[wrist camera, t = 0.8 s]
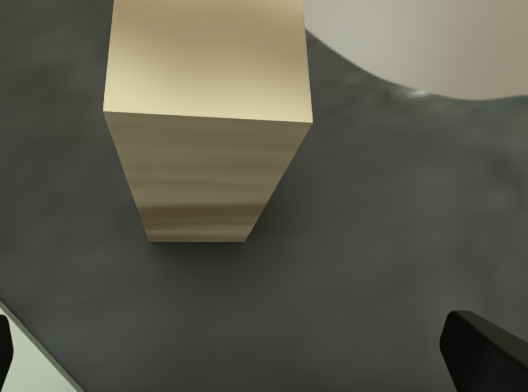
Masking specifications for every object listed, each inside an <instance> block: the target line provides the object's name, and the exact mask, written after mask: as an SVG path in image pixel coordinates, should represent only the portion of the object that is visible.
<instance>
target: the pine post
mask: <svg viewBox="0 0 528 392" xmlns="http://www.w3.org/2000/svg"><path fill="white" fill-rule="evenodd" d="M103 113H104V116H105V118H106V121H107V124H108V127H109V130H110V133H111V135H112V138H113V141H114V144H115V147H116V150H117V152H118V155H119V158H120V161H121V164H122V167H123V170H124V172H125V175H126V178H127V181H128V184H129V187H130V189H131V192H132V195H133V198H134V201H135V204H136V206H137V209H138V212H139V215H140V218H141V221H142V223H143V226H144V229H145V232H146V235H147V238H148V240H149V242H245V241H246V239H247V237H248V236H249V234H250V232H251V230H252V228H253V227H254V225H255V223H256V221H257V220H258V218H259V216H260V214H261V213H262V211H263V209H264V207H265V206H266V204H267V202H268V200H269V199H270V197H271V195H272V193H273V192H274V190H275V188H276V186H277V185H278V183H279V181H280V179H281V178H282V176H283V174H284V172H285V171H286V169H287V167H288V165H289V164H290V162H291V160H292V158H293V157H294V155H295V153H296V151H297V149H298V148H299V146H300V144H301V142H302V141H303V139H304V137H305V135H306V134H307V132H308V130H309V128H310V127H311V125H312V123H313V120H312V108H311V96H310V85H309V73H308V61H307V50H306V38H305V26H304V15H303V3H302V0H114V7H113V17H112V27H111V37H110V47H109V56H108V66H107V76H106V86H105V96H104V106H103Z"/></svg>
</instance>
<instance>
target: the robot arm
mask: <svg viewBox="0 0 528 392" xmlns="http://www.w3.org/2000/svg"><path fill="white" fill-rule="evenodd" d="M439 345H440V351H441V353H442V356H443V358H444V361H445V363H446V366H447V368H448V370H449V373H450V375H451V378H452V380H453V383H454V385H455V388H456V390H457V392H528V343H527V342H526V341H524V340H522V339H520V338H518V337H517V336H515V335H513V334H511V333H509V332H507V331H506V330H504V329H502V328H500V327H498V326H497V325H495V324H493V323H491V322H489V321H487V320H486V319H484V318H482V317H480V316H478V315H476V314H475V313H473V312H471V311H466V310H462V311H451V312H450V313H449V314H448V316H447V318H446V321H445V324H444V328H443V331H442V334H441V337H440V343H439ZM13 354H14V347H13V342H12V336H11V331H10V325H9V320H8V318H7V316H5V315H3V314H0V392H1V391H2V388H3V385H4V382H5V380H6V377H7V374H8V371H9V369H10V366H11V363H12V360H13Z"/></svg>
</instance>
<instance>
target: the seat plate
mask: <svg viewBox="0 0 528 392" xmlns="http://www.w3.org/2000/svg"><path fill="white" fill-rule="evenodd" d="M0 314H3V315H5V316H7V318H8V320H9V325H10V331H11V336H12V342H13V347H14V354H13V360H12V363H11V366H10V369H9V371H8V374H7V377H6V380H5V382H4V385H3V388H2V391H1V392H84V391H83V390H82V388H81V387H80V386H79V385H78V384H77V383H76V382H75V381H74V380H73V379H72V378H71V377H70V375H69V374H68V373H67V372H66V371H65V370H64V369H63V368H62V367H61V366H60V365H59V364H58V362H57V361H56V360H55V359H54V358H53V357H52V356H51V355H50V354H49V353H48V352H47V350H46V349H45V348H44V347H43V346H42V345H41V344H40V343H39V342H38V341H37V340H36V339H35V337H34V336H33V335H32V334H31V333H30V332H29V331H28V330H27V329H26V328H25V327H24V326H23V324H22V323H21V322H20V321H19V320H18V319H17V318H16V317H15V316H14V315H13V314H12V313H11V311H10V310H9V309H8V308H7V307H6V306H5V305H4V304H3V303H2V302H1V301H0Z"/></svg>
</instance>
